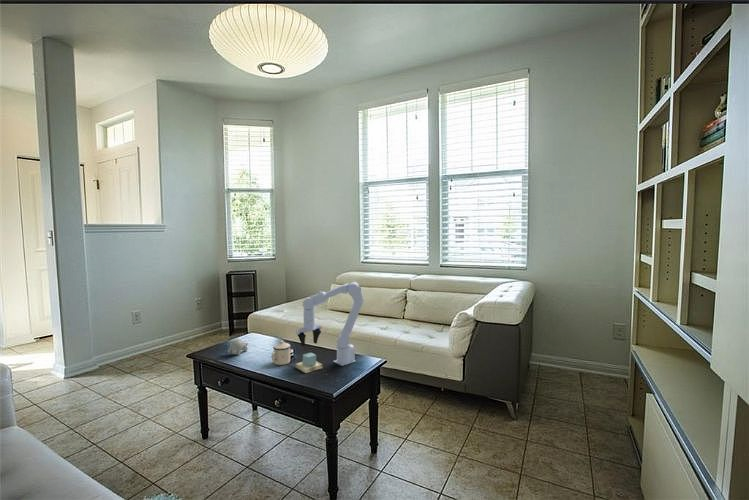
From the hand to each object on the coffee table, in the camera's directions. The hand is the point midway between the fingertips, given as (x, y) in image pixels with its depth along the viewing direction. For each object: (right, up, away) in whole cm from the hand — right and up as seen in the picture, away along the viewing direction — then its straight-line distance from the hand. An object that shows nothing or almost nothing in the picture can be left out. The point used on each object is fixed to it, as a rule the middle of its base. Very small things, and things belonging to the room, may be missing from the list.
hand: (309, 344), depth 191 cm
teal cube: (+1, -8, -7) cm, 11 cm away
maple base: (+1, -10, -7) cm, 12 cm away
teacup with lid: (-16, -10, 0) cm, 19 cm away
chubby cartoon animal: (-43, -9, +14) cm, 46 cm away
